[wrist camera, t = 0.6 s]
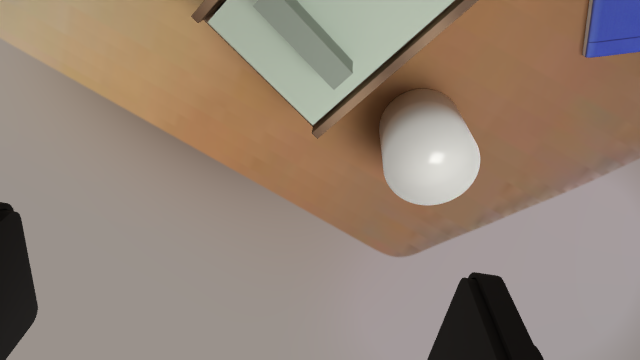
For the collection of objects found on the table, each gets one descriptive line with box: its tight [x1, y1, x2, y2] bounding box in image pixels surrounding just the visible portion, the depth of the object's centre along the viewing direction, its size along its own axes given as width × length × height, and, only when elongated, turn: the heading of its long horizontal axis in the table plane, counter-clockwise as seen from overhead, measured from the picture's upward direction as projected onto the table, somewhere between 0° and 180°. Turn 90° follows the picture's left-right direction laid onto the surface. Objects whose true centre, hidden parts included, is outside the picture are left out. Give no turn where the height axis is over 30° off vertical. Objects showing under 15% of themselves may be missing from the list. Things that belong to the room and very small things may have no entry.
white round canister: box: [379, 89, 480, 205], centre depth 37 cm, size 7×7×7 cm
